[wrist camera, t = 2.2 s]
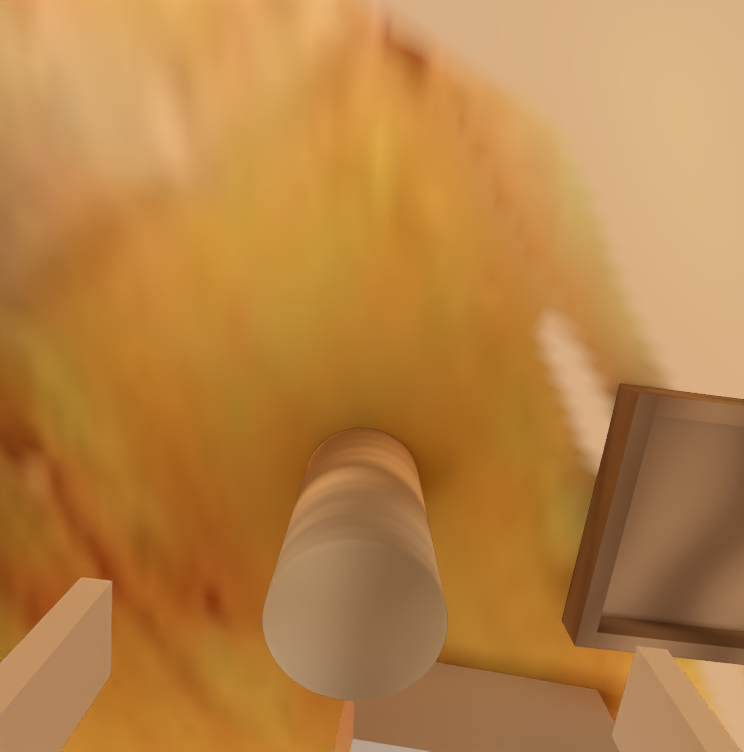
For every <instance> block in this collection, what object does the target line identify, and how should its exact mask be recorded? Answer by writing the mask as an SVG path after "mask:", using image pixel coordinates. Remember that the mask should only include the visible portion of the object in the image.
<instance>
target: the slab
mask: <svg viewBox="0 0 744 752" xmlns="http://www.w3.org/2000/svg"><path fill="white" fill-rule="evenodd" d="M614 725H615V723H614V721H613V719H612V717H611V715H610V713H609V711H608V709H607V707H606V705H605V703H604V701H603V700H602V698H601V696H600V694H599V692H598V690H596V689H590V688H584V687H578V686H573V685H567V684H561V683H555V682H549V681H544V680H538V679H532V678H526V677H520V676H515V675H509V674H503V673H497V672H491V671H485V670H480V669H474V668H468V667H462V666H456V665H451V664H445V663H439V662H435V663H434V664H433V665H432V667H431V668H430V669H429V670H428V671H427V672H426V673H425V674H424V675H423V676H422V677H421V678H420V679H419V680H418V681H416V682H415V683H413V684H412V685H411V686H409V687H407V688H405V689H403V690H402V691H400V692H397V693H395V694H392V695H390V696H386V697H383V698H379V699H373V700H366V701H344V706H343V710H342V715H341V719H340V724H339V728H338V732H337V737H336V741H335V746H334V750H333V752H619V750H618V748H617V746H616V744H615V741H614V739H613V737H612V732H613V728H614Z"/></svg>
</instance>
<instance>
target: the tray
mask: <svg viewBox="0 0 744 752" xmlns="http://www.w3.org/2000/svg"><path fill="white" fill-rule="evenodd" d="M562 622H563V624H564V626H565V628H566V630H567V632H568V634H569V635H570V637H571V639H572V641H573V643H574V645H575V646H580V647H589V648H598V649H606V650H615V651H624V652H633V653H635V651H636V648H637V646H643V647H651V648H659V649H667V650H668V651H669V652H670V654H671V655H672V657H678V658H687V659H696V660H705V661H714V662H723V663H732V664H740V665H744V399H737V398H729V397H721V396H713V395H706V394H698V393H690V392H682V391H674V390H666V389H658V388H650V387H642V386H634V385H626V384H620V386H619V390H618V394H617V398H616V402H615V406H614V410H613V414H612V418H611V422H610V426H609V431H608V435H607V439H606V443H605V447H604V451H603V455H602V459H601V463H600V467H599V471H598V475H597V480H596V484H595V488H594V492H593V496H592V500H591V504H590V508H589V512H588V516H587V520H586V524H585V529H584V533H583V537H582V541H581V545H580V549H579V553H578V557H577V561H576V565H575V569H574V574H573V578H572V582H571V586H570V590H569V594H568V598H567V602H566V606H565V610H564V614H563V618H562Z"/></svg>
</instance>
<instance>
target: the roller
mask: <svg viewBox="0 0 744 752" xmlns="http://www.w3.org/2000/svg"><path fill="white" fill-rule="evenodd" d="M447 626H448V618H447V609H446V604H445V599H444V595H443V590H442V585H441V580H440V575H439V571H438V566H437V561H436V556H435V551H434V547H433V542H432V537H431V532H430V527H429V523H428V518H427V513H426V508H425V503H424V499H423V494H422V489H421V484H420V480H419V475H418V470H417V466H416V463H415V461H414V459H413V457H412V455H411V453H410V452H409V451H408V449H407V448H406V447H405V446H404V445H403V444H402V443H401V442H400V441H399V440H398V439H396V438H395V437H393V436H391V435H390V434H387V433H385V432H383V431H380V430H377V429H371V428H352V429H347V430H344V431H341V432H338V433H336V434H334V435H332V436H330V437H329V438H327V439H326V440H325V441H324V442H322V443H321V444H320V445H319V446H318V448H317V449H316V450H315V451H314V453H313V454H312V456H311V458H310V460H309V463H308V466H307V469H306V472H305V475H304V478H303V482H302V485H301V488H300V491H299V494H298V498H297V501H296V504H295V507H294V510H293V514H292V517H291V520H290V523H289V526H288V530H287V533H286V536H285V539H284V542H283V546H282V549H281V552H280V555H279V558H278V562H277V565H276V568H275V571H274V574H273V578H272V581H271V584H270V587H269V590H268V594H267V597H266V600H265V603H264V609H263V632H264V637H265V640H266V644H267V646H268V648H269V651H270V653H271V655H272V656H273V658H274V660H275V661H276V663H277V664H278V665H279V666H280V668H281V669H282V670H283V671H284V672H285V673H286V674H287V675H288V676H289V677H290V678H291V679H292V680H294V681H295V682H297V683H298V684H300V685H301V686H303V687H304V688H306V689H308V690H310V691H312V692H314V693H317V694H319V695H322V696H326V697H329V698H333V699H339V700H345V701H366V700H373V699H379V698H383V697H386V696H390V695H392V694H395V693H397V692H400V691H402V690H403V689H405V688H407V687H409V686H411V685H412V684H413V683H415V682H416V681H418V680H419V679H420V678H421V677H422V676H423V675H424V674H425V673H426V672H427V671H428V670H429V669H430V668H431V667H432V665H433V664H434V663H435V661H436V660H437V658H438V656H439V655H440V652H441V650H442V648H443V645H444V642H445V639H446V635H447Z"/></svg>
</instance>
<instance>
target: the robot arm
mask: <svg viewBox="0 0 744 752" xmlns="http://www.w3.org/2000/svg"><path fill="white" fill-rule="evenodd" d="M111 631H112V581H109V580H101V579H93V578H85V577H81V578H80V579H79V580H78V581H77V582H76V583H75V584H74V585H73V586H72V587H71V589H70V590H69V591H68V592H67V593H66V594H65V595H64V596H63V597H62V598H61V599H60V600H59V601H58V602H57V603H56V604H55V605H54V607H53V608H52V609H51V610H50V611H49V612H48V613H47V614H46V615H45V616H44V617H43V618H42V619H41V620H40V621H39V622H38V623H37V625H36V626H35V627H34V628H33V629H32V630H31V631H30V632H29V633H28V634H27V635H26V636H25V637H24V638H23V639H22V640H21V641H20V643H19V644H18V645H17V646H16V647H15V648H14V649H13V650H12V651H11V652H10V653H9V654H8V655H7V656H6V657H5V658H4V660H3V661H2V662H1V663H0V752H61V750H62V749H63V747H64V746H65V744H66V742H67V741H68V739H69V738H70V736H71V735H72V733H73V732H74V730H75V729H76V727H77V726H78V724H79V722H80V721H81V719H82V718H83V716H84V715H85V713H86V712H87V710H88V709H89V707H90V706H91V704H92V703H93V701H94V699H95V698H96V696H97V695H98V693H99V692H100V690H101V689H102V687H103V686H104V684H105V683H106V681H107V680H108V678H109V676H110V675H111ZM612 737H613V739H614V741H615V744H616V746H617V748H618V750H619V752H742V751H741V750H740V748H739V747H738V745H737V744H736V743H735V741H734V740H733V739H732V737H731V736H730V734H729V733H728V732H727V730H726V729H725V728H724V726H723V725H722V724H721V722H720V721H719V719H718V718H717V717H716V715H715V714H714V713H713V711H712V710H711V708H710V707H709V706H708V704H707V703H706V702H705V700H704V699H703V698H702V696H701V695H700V693H699V692H698V691H697V689H696V688H695V687H694V685H693V684H692V683H691V681H690V680H689V678H688V677H687V676H686V674H685V673H684V672H683V670H682V669H681V668H680V666H679V665H678V663H677V662H676V661H675V659H674V658H673V657H672V655H671V654H670V652H669V651H668V650H667V649H659V648H651V647H643V646H637V648H636V651H635V655H634V658H633V662H632V665H631V669H630V672H629V676H628V679H627V683H626V686H625V690H624V693H623V697H622V700H621V704H620V707H619V711H618V714H617V718H616V721H615V725H614V728H613V732H612Z"/></svg>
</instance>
